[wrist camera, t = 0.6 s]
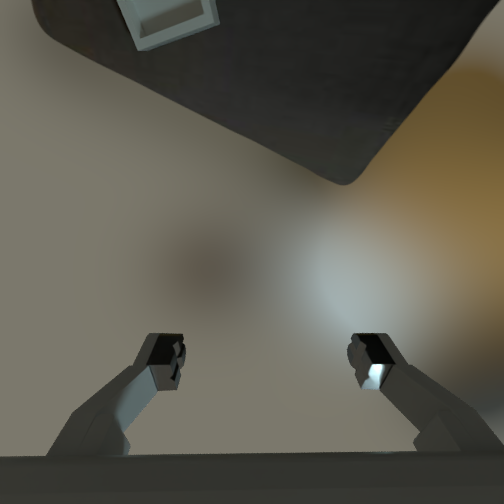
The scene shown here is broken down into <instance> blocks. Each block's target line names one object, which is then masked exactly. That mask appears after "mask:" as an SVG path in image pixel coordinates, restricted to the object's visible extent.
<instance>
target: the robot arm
mask: <svg viewBox="0 0 504 504" xmlns="http://www.w3.org/2000/svg"><path fill="white" fill-rule="evenodd" d="M183 340H184V337H183V334H172V333H171V334H169V333H149V335H147V337H146V339H145V341H144V343H143V345H142V347H141V349H140V351H139V353H138V356H137V357H136V359H135V362H134V364H133V366H128V367H127V368H126V369H125V370H123V371H122V372H121V373H120V374H119V375H117V376H116V377H115V378H114V379H112V380H111V381H110V382H109V383H108V384H106V385H105V386H104V387H103V388H102V389H100V390H99V391H98V392H97V393H96V394H94V395H93V396H92V397H91V398H90V399H88V400H87V401H86V402H85V403H83V404H82V405H81V406H80V407H79V408H78V409H76V410H75V411H74V412H73V413H72V414H71V416H70V418H69V419H68V421H67V422H66V424H65V426H64V427H63V429H62V430H61V432H60V434H59V436H58V437H57V439H56V440H55V442H54V443H53V445H52V447H51V448H50V450H49V452H48V453H47V455H46V456H18V457H17V456H14V457H13V456H12V457H0V504H504V445H503V444H502V443H501V441H500V440H499V439H498V437H497V436H496V435H495V434H494V432H493V431H492V430H491V429H490V428H489V426H488V425H487V424H486V423H485V421H484V420H483V419H482V418H481V416H480V415H479V414H478V413H477V411H476V410H475V409H473V408H472V407H470V406H469V405H468V404H466V403H465V402H464V401H462V400H461V399H459V398H458V397H456V396H455V395H454V394H452V393H451V392H450V391H448V390H447V389H445V388H444V387H442V386H441V385H440V384H438V383H437V382H435V381H434V380H432V379H431V378H430V377H428V376H427V375H425V374H424V373H423V372H421V371H420V370H418V369H417V368H416V367H414V366H413V365H408V363H407V362H406V360H405V359H404V357H403V356H402V355H401V353H400V351H399V350H398V348H397V347H396V346H395V344H394V343H393V341H392V340H391V338H390V337H389V336H388V335H387V334H386V333H354V334H353V335H352V337H351V340H352V343H350V344H349V345H348V349H347V355H348V359H349V362H350V364H351V366H352V367H353V368H355V369H356V373H355V376H356V378H357V381H358V383H359V385H360V387H361V389H380V391H381V392H382V393H383V394H384V395H385V396H386V397H387V398H388V399H389V400H390V401H391V402H392V403H393V404H394V405H395V407H396V408H398V410H399V411H401V413H402V414H403V415H404V416H405V417H406V418H407V419H408V420H409V421H410V422H411V423H412V424H413V425H414V426H415V427H416V428H417V429H418V430H419V431H420V433H419V434H418V436H417V437H416V438H415V439H414V442H413V444H414V446H415V448H416V449H417V451H399V452H323V453H322V452H320V453H240V454H168V455H167V454H163V455H128V452H129V449H130V444H129V442H128V440H127V438H126V437H125V435H124V433H123V432H124V431H125V430H126V429H127V428H128V426H129V425H130V424H131V423H132V422H133V421H134V419H135V418H136V417H137V416H138V415H139V413H140V412H141V411H142V410H143V408H145V406H146V405H147V404H148V403H149V402H150V400H151V399H152V398H153V397H154V396H155V395H156V393H157V391H163V390H177V388H178V384H179V380H180V377H181V374H180V369H181V368H182V367H183V366H184V361H185V355H186V348H185V345H184V344H183Z"/></svg>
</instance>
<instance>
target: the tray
mask: <svg viewBox="0 0 504 504" xmlns="http://www.w3.org/2000/svg"><path fill="white" fill-rule="evenodd" d="M117 2H118V5H119V7H120V9H121V12H122V14H123V16H124V19H125V21H126V24H127V26H128V28H129V31H130V33H131V35H132V38H133V40H134V42H135V45H136V47H137V50H138V51H149V50H151V49H154V48H157V47H159V46H162V45H165V44H168V43H170V42H173V41H176V40H178V39H181V38H184V37H187V36H189V35H192V34H195V33H197V32H200V31H203V30H206V29H208V28H211V27H214V26H216V25H219V24H220V21H219V17H218V12H217V8H216V4H215V0H117Z"/></svg>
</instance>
